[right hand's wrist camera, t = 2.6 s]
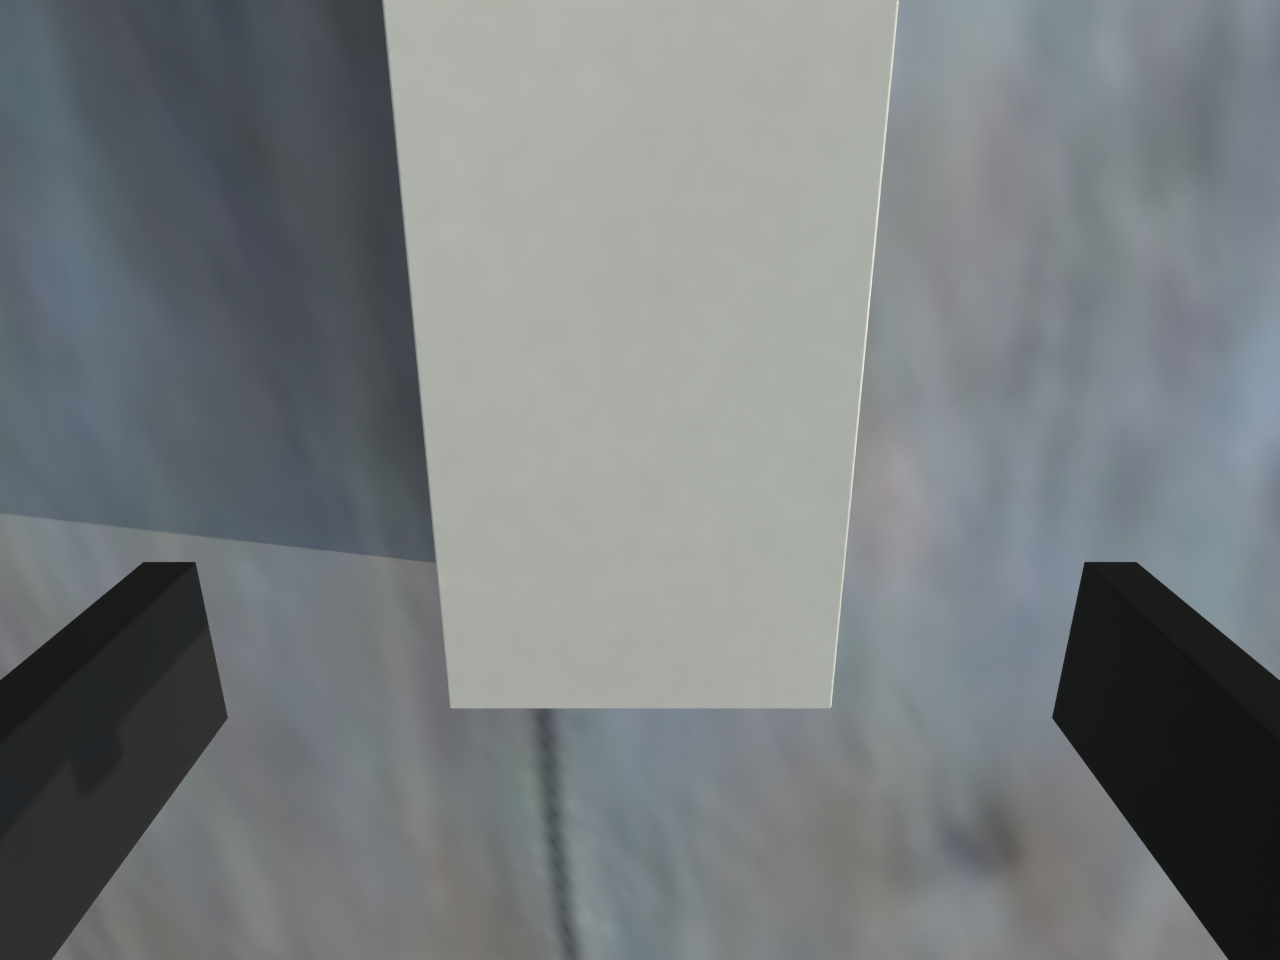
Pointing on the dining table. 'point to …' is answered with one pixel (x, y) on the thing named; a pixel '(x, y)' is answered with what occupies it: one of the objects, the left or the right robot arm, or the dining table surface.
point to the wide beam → (640, 336)
